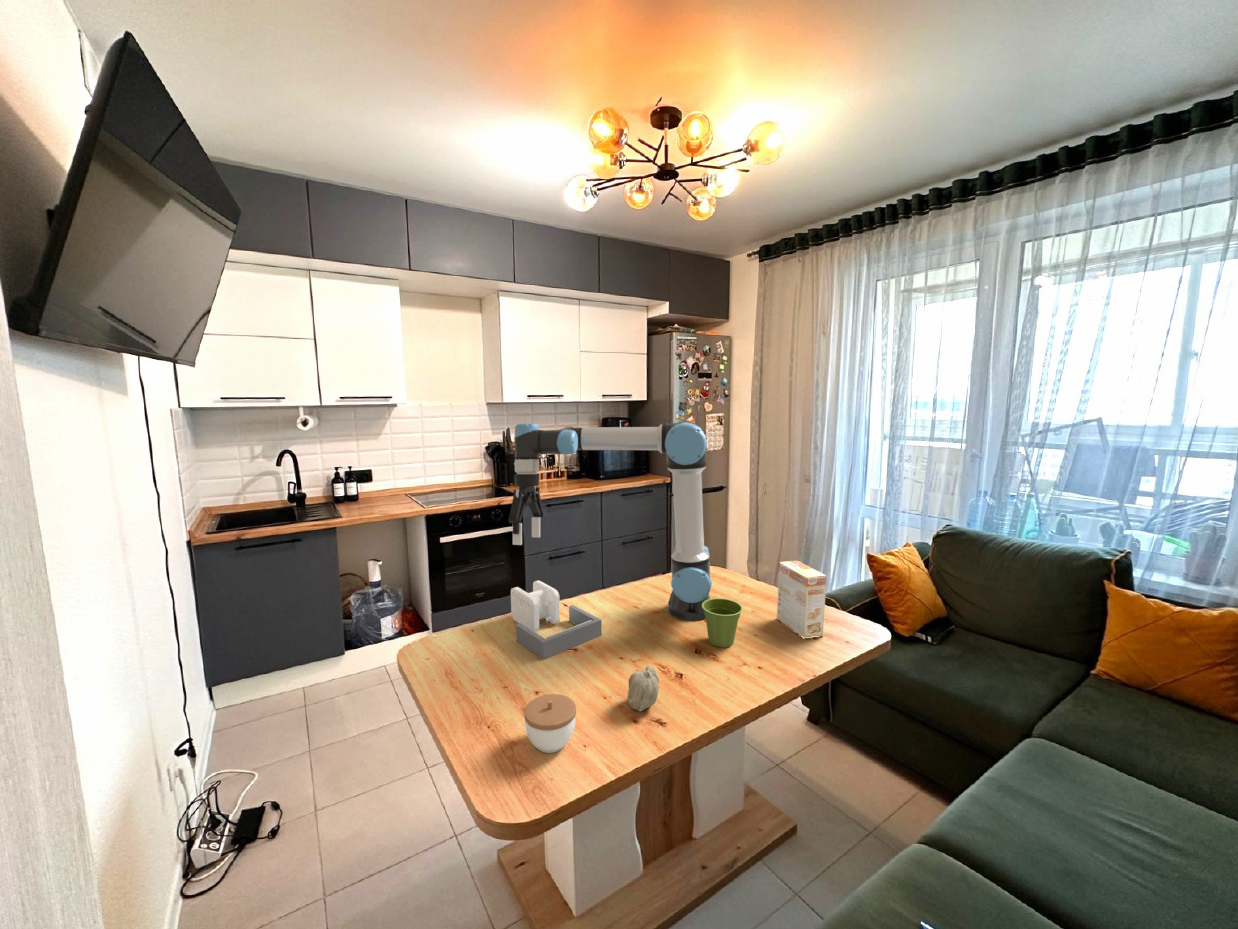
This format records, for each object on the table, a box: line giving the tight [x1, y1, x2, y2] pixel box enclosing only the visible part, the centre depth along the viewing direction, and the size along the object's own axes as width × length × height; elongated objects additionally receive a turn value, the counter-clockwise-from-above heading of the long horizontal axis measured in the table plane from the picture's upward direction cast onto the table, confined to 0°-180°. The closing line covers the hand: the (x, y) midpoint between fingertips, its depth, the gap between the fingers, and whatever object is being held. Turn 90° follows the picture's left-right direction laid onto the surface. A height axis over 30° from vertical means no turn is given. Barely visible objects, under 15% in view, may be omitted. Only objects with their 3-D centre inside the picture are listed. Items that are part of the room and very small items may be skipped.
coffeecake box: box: [776, 560, 827, 638], centre depth 154 cm, size 15×7×20 cm, turn 14°
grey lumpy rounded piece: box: [627, 665, 660, 712], centre depth 116 cm, size 9×8×10 cm
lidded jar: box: [523, 693, 577, 754], centre depth 103 cm, size 11×11×9 cm
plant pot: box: [702, 597, 744, 648], centre depth 146 cm, size 12×12×11 cm
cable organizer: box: [510, 579, 561, 633], centre depth 158 cm, size 15×11×12 cm
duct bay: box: [515, 604, 603, 660], centre depth 149 cm, size 14×21×5 cm
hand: (527, 540), depth 155 cm, fingers open, 13 cm apart
